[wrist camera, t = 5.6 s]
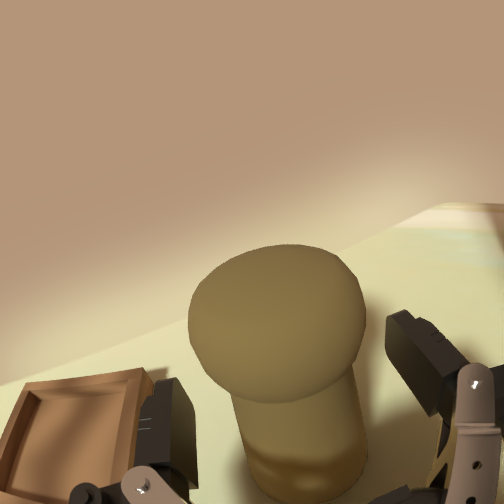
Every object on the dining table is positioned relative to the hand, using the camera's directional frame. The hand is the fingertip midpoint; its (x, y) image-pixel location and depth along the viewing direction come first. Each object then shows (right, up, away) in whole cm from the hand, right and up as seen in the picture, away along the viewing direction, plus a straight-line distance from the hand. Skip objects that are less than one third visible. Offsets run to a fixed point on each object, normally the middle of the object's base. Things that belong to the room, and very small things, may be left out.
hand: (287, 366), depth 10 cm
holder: (-13, -9, +3) cm, 16 cm away
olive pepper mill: (+2, -6, +2) cm, 7 cm away
